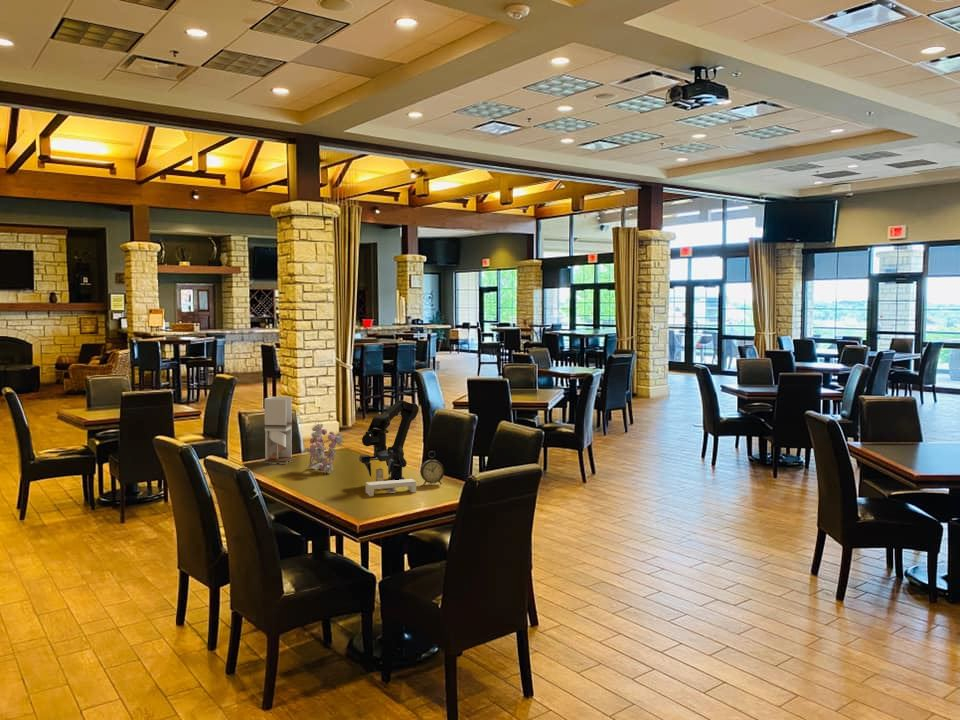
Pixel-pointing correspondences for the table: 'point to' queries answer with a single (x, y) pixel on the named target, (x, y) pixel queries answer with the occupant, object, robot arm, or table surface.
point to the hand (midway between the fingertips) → (379, 475)
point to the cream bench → (390, 485)
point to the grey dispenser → (278, 429)
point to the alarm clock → (432, 471)
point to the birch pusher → (380, 476)
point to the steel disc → (390, 491)
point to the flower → (322, 448)
